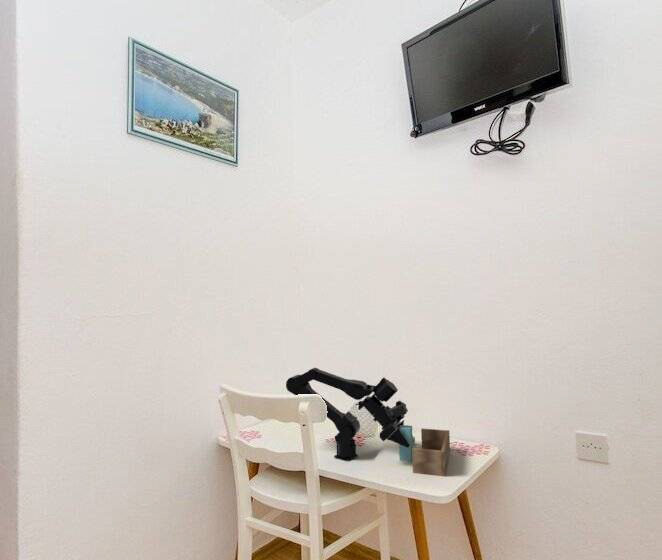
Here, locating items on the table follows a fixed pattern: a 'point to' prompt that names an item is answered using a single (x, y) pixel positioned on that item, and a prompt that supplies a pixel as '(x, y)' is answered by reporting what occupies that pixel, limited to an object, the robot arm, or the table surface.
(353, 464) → the table surface
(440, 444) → the open box
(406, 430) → the pillar block
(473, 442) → the table surface
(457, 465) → the table surface
